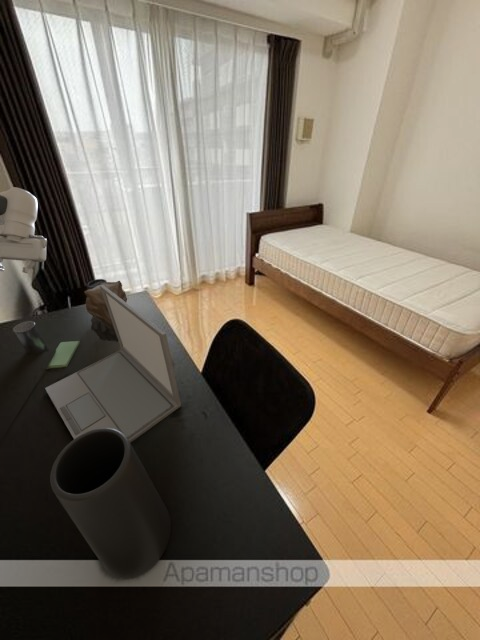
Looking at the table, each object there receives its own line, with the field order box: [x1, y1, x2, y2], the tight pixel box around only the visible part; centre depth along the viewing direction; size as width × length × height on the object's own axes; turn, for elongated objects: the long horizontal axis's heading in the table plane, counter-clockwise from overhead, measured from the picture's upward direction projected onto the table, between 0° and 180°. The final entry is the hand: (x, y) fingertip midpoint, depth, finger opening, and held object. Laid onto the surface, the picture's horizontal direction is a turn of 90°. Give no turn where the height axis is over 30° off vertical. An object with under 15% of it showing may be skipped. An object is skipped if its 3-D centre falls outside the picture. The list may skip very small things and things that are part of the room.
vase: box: [49, 428, 172, 580], centre depth 49 cm, size 14×14×29 cm
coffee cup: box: [86, 278, 108, 290], centre depth 118 cm, size 8×8×15 cm
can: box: [12, 320, 49, 357], centre depth 99 cm, size 6×6×12 cm
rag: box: [45, 340, 81, 370], centre depth 101 cm, size 7×13×1 cm, turn 6°
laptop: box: [44, 285, 182, 444], centre depth 77 cm, size 35×26×27 cm
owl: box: [83, 280, 128, 342], centre depth 106 cm, size 13×13×20 cm
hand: (12, 271), depth 100 cm, fingers open, 8 cm apart
